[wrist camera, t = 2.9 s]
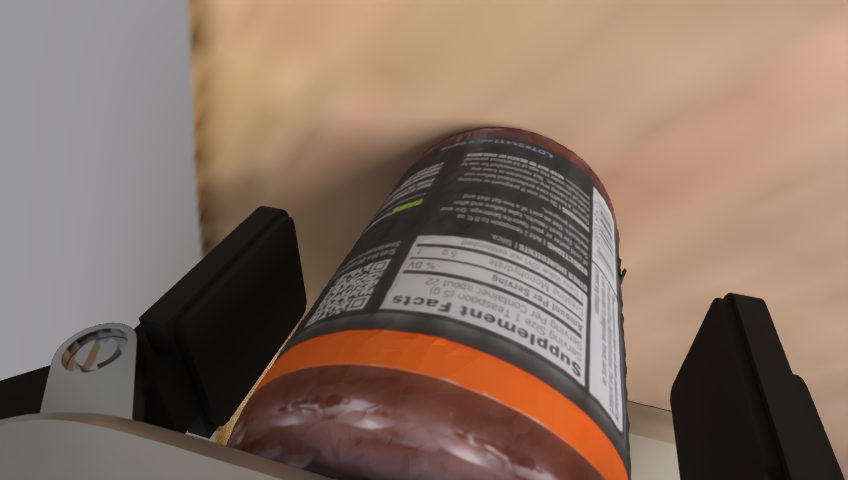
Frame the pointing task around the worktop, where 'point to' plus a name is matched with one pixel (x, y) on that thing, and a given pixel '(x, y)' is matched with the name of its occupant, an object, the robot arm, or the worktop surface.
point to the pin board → (652, 443)
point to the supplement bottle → (463, 330)
